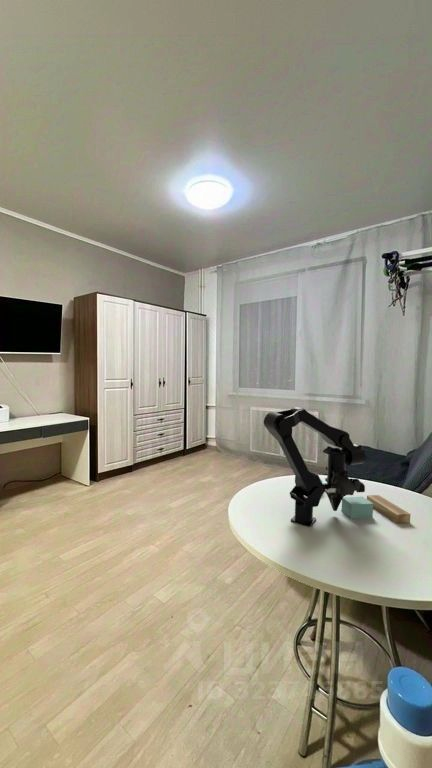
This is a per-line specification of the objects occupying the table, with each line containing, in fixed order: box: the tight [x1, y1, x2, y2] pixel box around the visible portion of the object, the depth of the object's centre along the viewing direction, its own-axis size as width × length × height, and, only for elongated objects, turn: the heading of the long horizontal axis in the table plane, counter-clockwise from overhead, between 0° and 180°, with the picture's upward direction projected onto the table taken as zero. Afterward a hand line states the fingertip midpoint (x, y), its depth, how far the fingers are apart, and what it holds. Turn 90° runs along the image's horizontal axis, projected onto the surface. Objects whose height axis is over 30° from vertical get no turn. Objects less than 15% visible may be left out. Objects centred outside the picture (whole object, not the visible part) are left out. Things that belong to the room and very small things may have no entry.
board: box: [366, 494, 411, 525], centre depth 114 cm, size 5×16×3 cm, turn 9°
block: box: [341, 496, 374, 519], centre depth 112 cm, size 8×6×5 cm
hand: (334, 510), depth 111 cm, fingers closed
